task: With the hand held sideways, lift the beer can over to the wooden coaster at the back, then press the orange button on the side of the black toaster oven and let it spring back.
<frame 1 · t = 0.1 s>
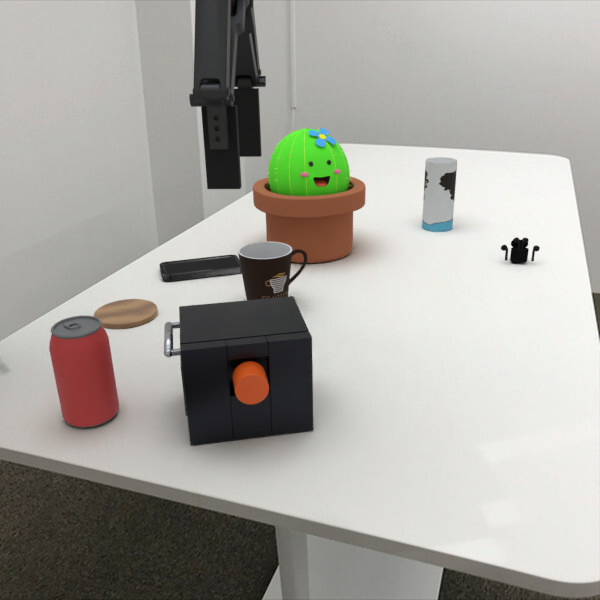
hand: (237, 170, 60), 31 cm above the table, tool pointing down, fingers open, 13 cm apart
potted cactus: (309, 250, 133), on the table
phone: (201, 271, 123), on the table
wooden coaster: (126, 315, 105), on the table
white patterned cylinder: (437, 228, 146), on the table
oven button: (250, 382, 69), point 8 cm above the table, slide at 0.1 cm
wireless earbuds: (517, 263, 124), on the table
coffee mug: (276, 307, 107), on the table
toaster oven: (247, 410, 79), on the table
beer can: (92, 416, 79), on the table
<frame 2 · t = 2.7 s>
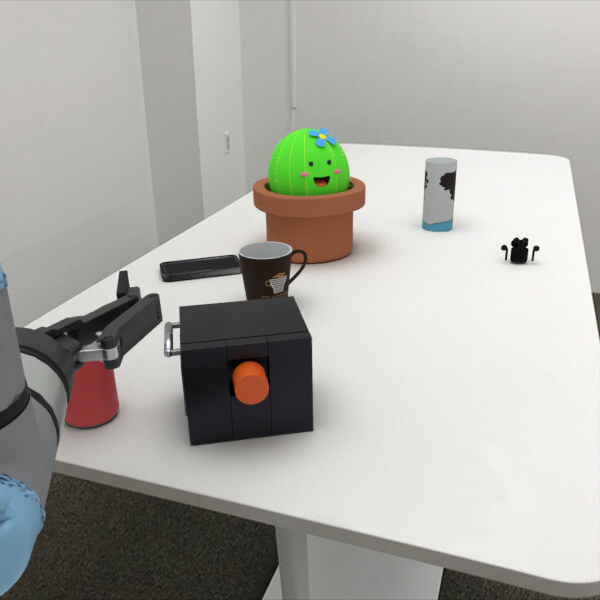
hand: (52, 291, 62), 20 cm above the table, tool horizontal, fingers open, 13 cm apart
nothing on the table moved.
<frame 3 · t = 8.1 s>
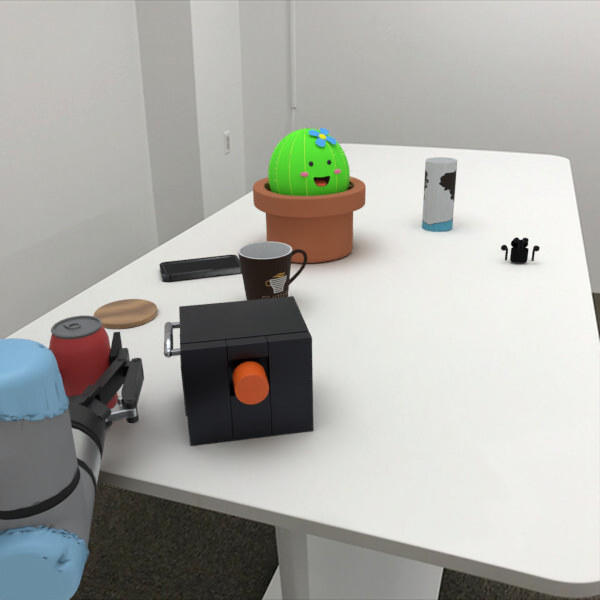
hand: (88, 344, 80), 7 cm above the table, tool horizontal, fingers closed on beer can, 7 cm apart
beer can: (92, 416, 79), on the table, touching gripper
everything else where it was.
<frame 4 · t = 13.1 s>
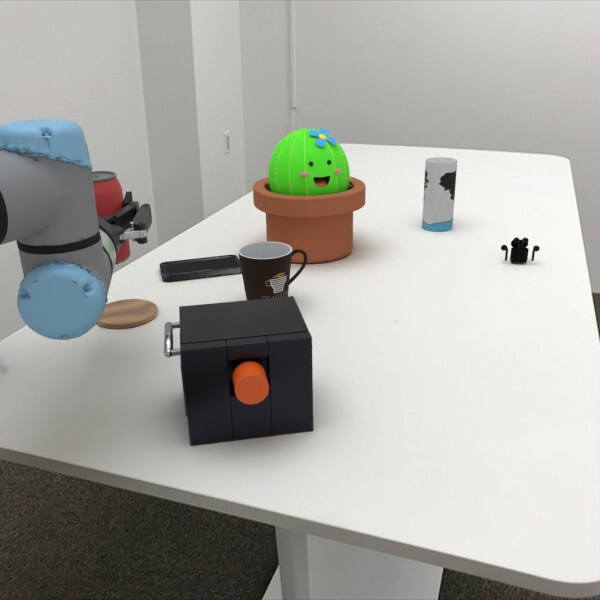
hand: (104, 202, 93), 20 cm above the table, tool horizontal, fingers closed on beer can, 7 cm apart
beer can: (107, 261, 91), point 13 cm above the table, touching gripper
everything else where it was.
when the fingers open (8 cm above the table, at t = 18.0 s): beer can stays where it is, resting on wooden coaster.
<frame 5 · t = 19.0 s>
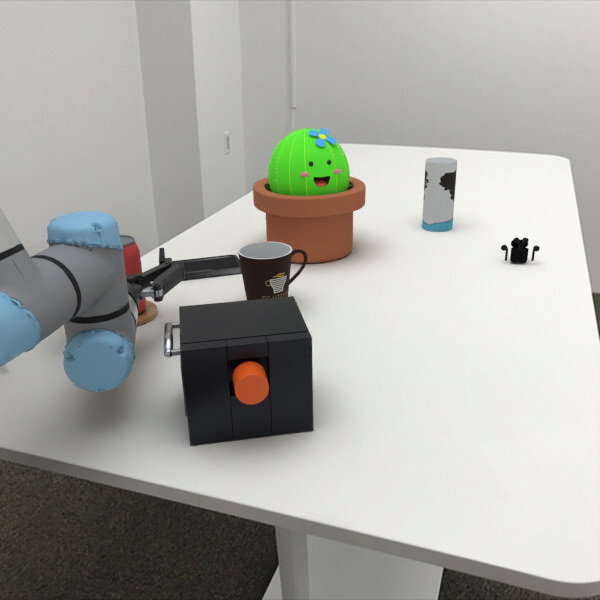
hand: (119, 258, 104), 9 cm above the table, tool horizontal, fingers open, 13 cm apart
beer can: (126, 312, 105), point 1 cm above the table, touching wooden coaster
everything else where it was.
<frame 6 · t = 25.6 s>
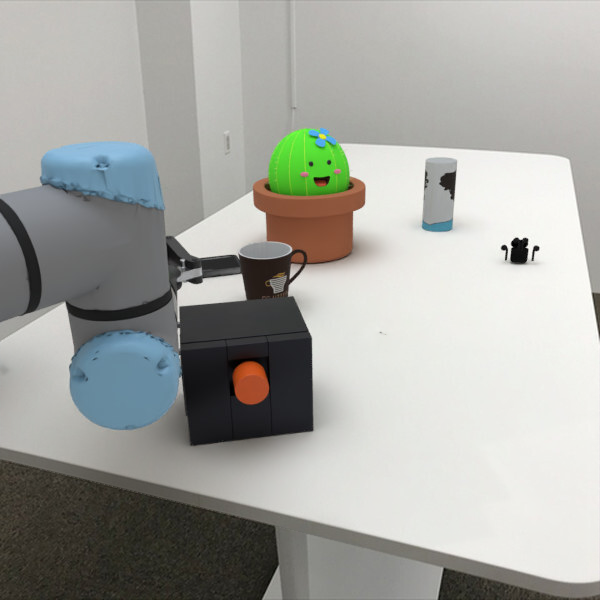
hand: (144, 230, 79), 20 cm above the table, tool horizontal, fingers closed
nothing on the table moved.
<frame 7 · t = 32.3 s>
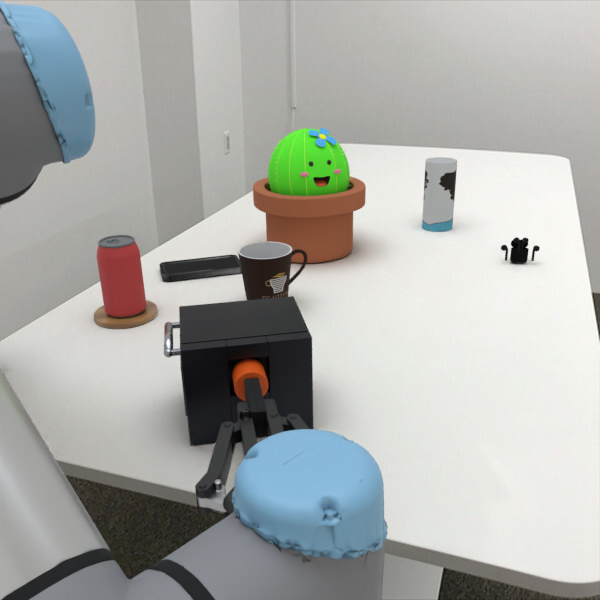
hand: (251, 389, 68), 8 cm above the table, tool horizontal, fingers closed
oven button: (249, 379, 70), point 8 cm above the table, slide at -0.5 cm, touching gripper
everything else where it was.
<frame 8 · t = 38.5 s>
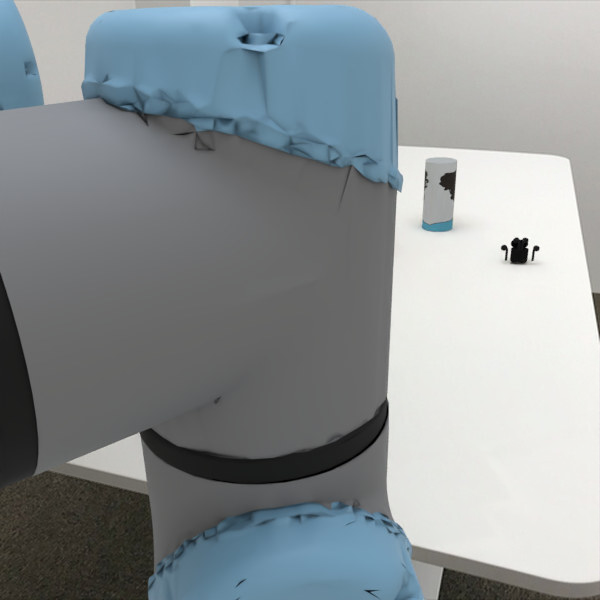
hand: (212, 231, 52), 28 cm above the table, tool horizontal, fingers closed
oven button: (250, 382, 69), point 8 cm above the table, slide at 0.1 cm
everything else where it was.
at the end: beer can 0.1 cm off-centre on the wooden coaster, point 0.6 cm above the wooden coaster's base; oven button pushed in 1.3 cm at the most during the clip, back to where it started at the end; oven button slide at 0.1 cm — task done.
